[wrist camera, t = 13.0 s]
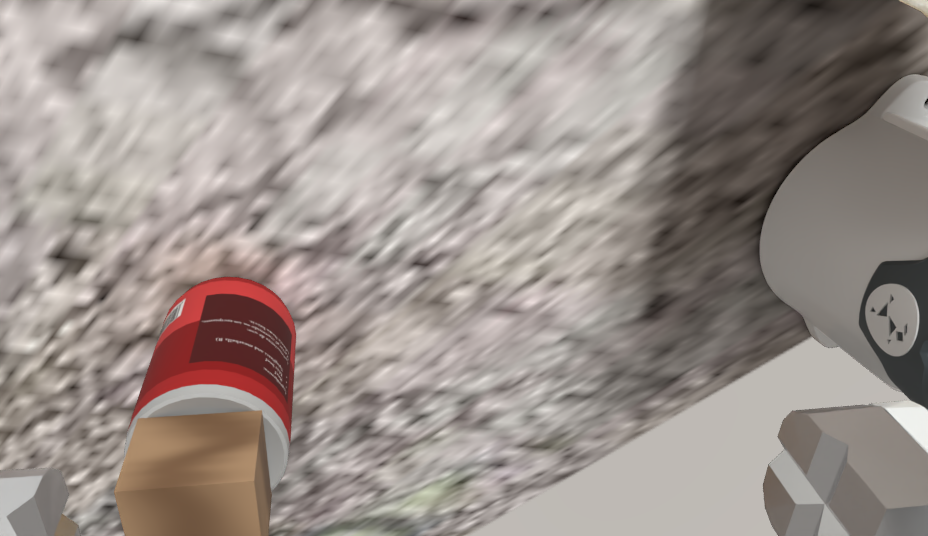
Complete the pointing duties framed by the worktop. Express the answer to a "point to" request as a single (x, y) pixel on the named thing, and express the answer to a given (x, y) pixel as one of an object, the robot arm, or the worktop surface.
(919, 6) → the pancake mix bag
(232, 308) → the canned food
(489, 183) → the worktop surface
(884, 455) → the robot arm
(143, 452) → the walnut block
